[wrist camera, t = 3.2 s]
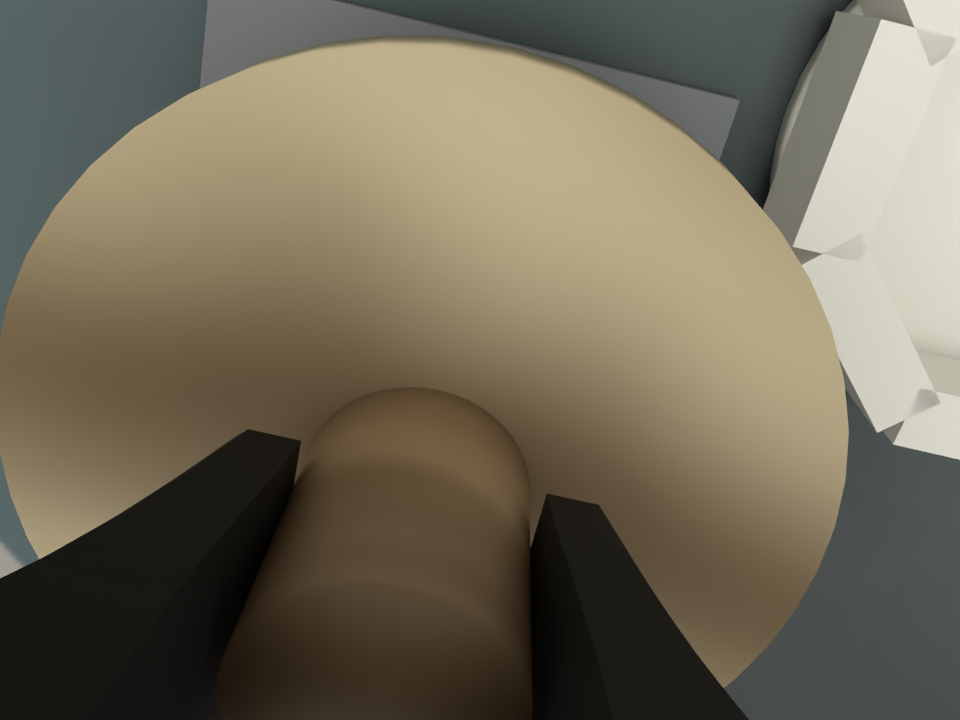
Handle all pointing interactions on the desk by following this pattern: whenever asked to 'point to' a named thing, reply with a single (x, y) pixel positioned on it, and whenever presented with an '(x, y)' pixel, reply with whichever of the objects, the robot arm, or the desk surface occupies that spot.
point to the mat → (326, 18)
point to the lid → (431, 364)
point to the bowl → (882, 209)
